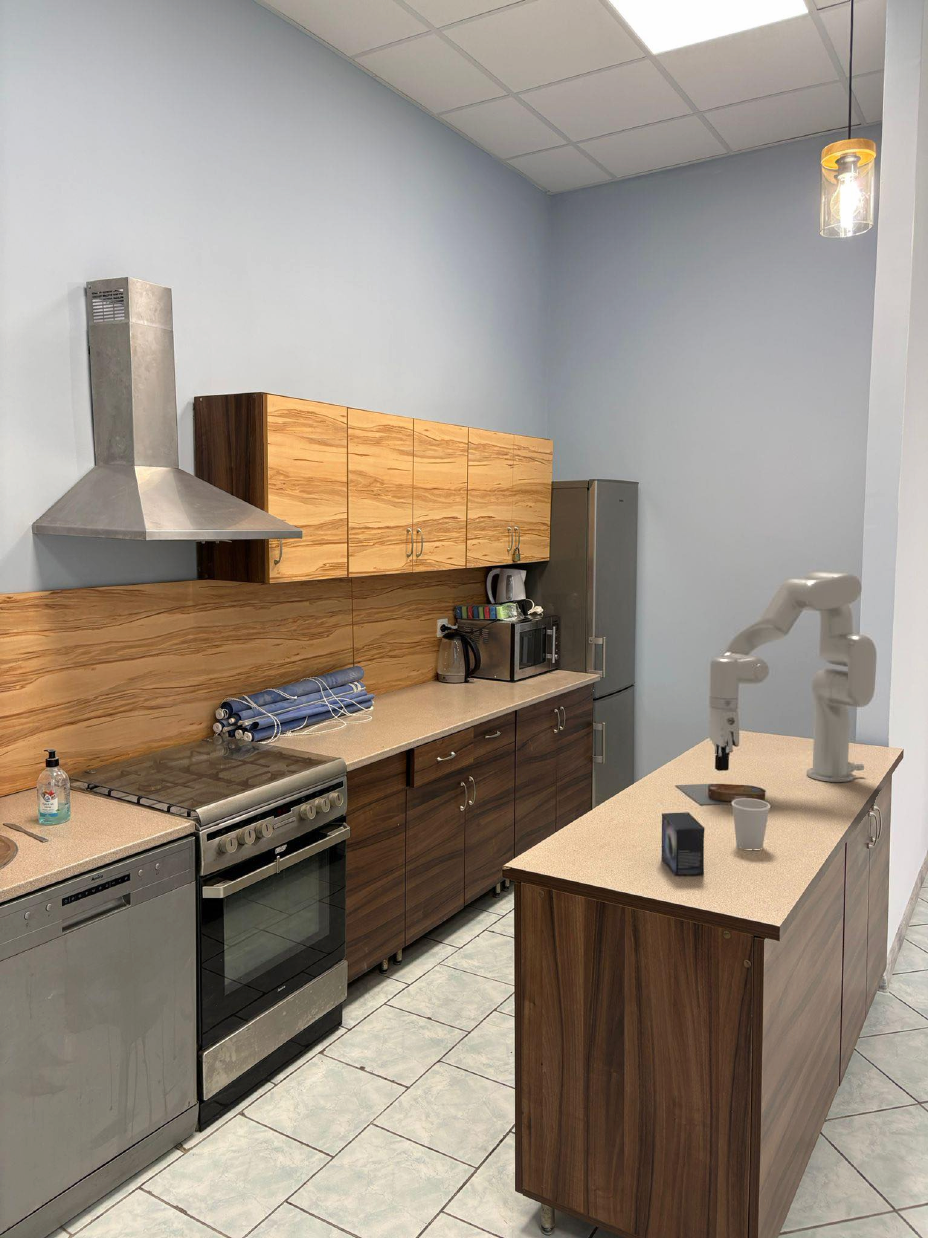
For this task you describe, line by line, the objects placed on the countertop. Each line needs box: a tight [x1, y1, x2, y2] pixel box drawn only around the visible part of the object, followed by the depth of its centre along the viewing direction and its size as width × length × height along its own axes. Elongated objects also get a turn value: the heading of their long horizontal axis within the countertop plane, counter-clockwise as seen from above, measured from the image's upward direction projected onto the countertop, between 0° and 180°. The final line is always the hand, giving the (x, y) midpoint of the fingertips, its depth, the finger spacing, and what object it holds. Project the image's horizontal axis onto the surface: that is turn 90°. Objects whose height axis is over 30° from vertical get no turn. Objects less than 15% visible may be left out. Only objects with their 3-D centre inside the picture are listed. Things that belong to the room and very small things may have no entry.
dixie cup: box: [731, 798, 771, 850], centre depth 204 cm, size 8×8×10 cm
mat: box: [674, 783, 732, 806], centre depth 245 cm, size 11×18×1 cm, turn 8°
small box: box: [660, 811, 706, 877], centre depth 192 cm, size 11×6×10 cm, turn 5°
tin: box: [708, 783, 767, 802], centre depth 241 cm, size 15×3×8 cm
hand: (721, 769), depth 245 cm, fingers closed
